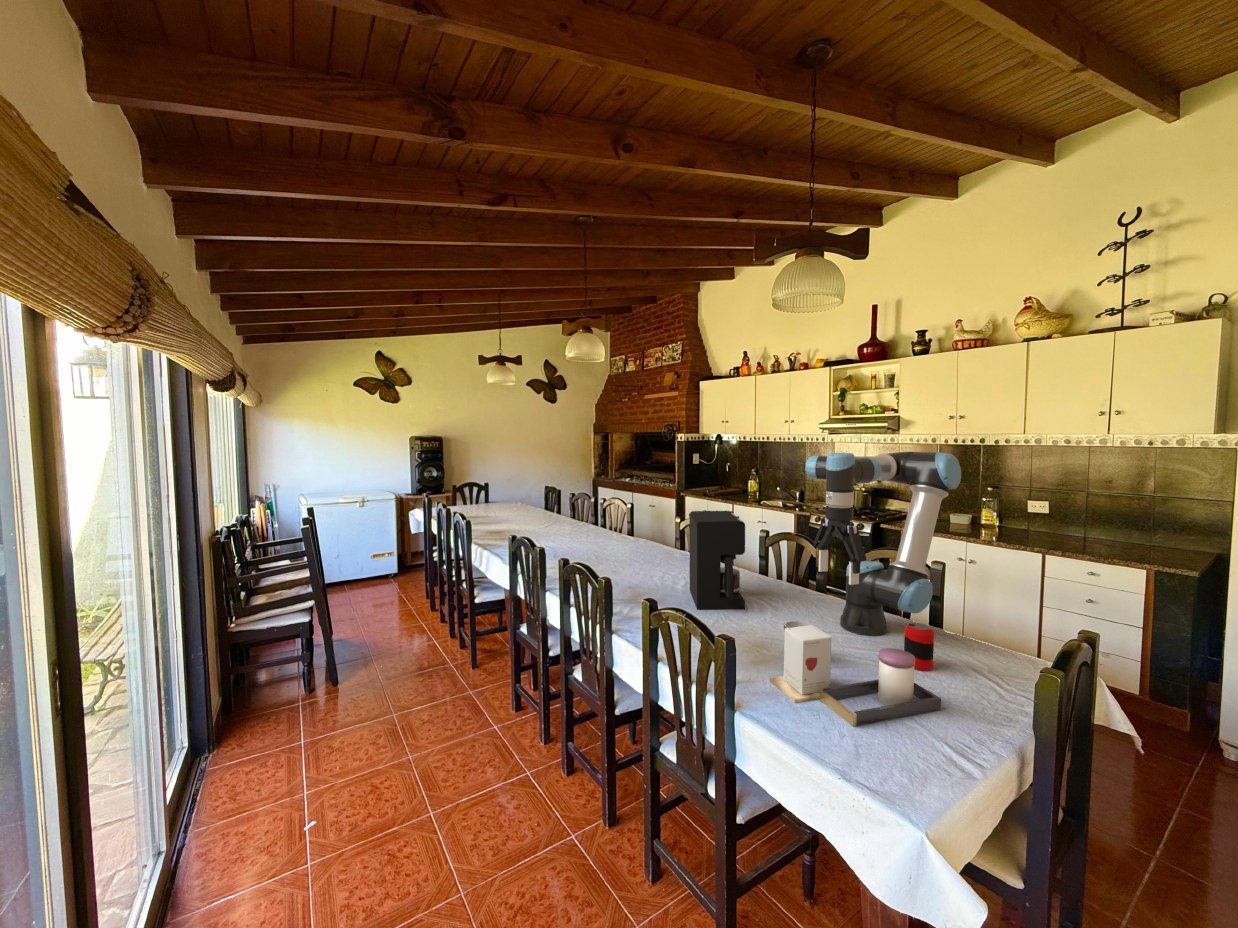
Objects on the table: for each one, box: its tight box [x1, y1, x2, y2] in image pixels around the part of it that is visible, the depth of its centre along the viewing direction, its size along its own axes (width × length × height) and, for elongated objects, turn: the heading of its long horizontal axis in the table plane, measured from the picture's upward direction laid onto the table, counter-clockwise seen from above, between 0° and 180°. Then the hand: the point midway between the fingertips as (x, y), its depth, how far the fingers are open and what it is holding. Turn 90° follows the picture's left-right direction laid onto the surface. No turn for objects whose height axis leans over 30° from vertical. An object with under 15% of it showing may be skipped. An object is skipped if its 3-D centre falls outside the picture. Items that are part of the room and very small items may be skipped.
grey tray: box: [819, 679, 942, 727], centre depth 135 cm, size 26×12×3 cm, turn 105°
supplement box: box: [783, 624, 832, 695], centre depth 143 cm, size 9×9×15 cm
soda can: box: [903, 622, 935, 672], centre depth 156 cm, size 8×8×12 cm
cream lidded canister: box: [877, 647, 915, 706], centre depth 136 cm, size 8×8×13 cm
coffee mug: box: [783, 620, 812, 631], centre depth 164 cm, size 12×9×10 cm
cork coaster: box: [769, 675, 820, 704], centre depth 144 cm, size 12×12×1 cm
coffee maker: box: [688, 510, 746, 611], centre depth 213 cm, size 28×20×35 cm
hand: (837, 577), depth 155 cm, fingers open, 13 cm apart
